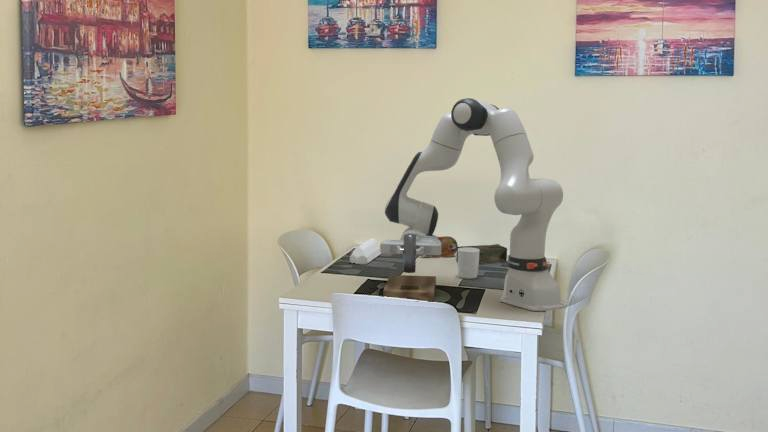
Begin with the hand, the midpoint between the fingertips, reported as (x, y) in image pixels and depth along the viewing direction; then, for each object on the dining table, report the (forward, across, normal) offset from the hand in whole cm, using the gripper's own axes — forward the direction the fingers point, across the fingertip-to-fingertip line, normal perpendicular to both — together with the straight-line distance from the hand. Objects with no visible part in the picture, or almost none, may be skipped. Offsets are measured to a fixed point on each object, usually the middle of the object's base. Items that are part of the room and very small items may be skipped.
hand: (409, 252), depth 277 cm
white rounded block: (-60, -21, +16) cm, 65 cm away
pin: (-1, 0, +7) cm, 7 cm away
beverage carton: (-61, +24, +16) cm, 67 cm away
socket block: (-7, 0, +15) cm, 16 cm away
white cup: (-33, +19, +15) cm, 41 cm away
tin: (-68, +7, +16) cm, 70 cm away
